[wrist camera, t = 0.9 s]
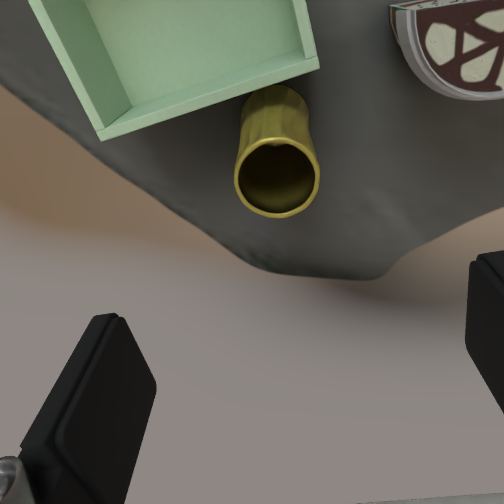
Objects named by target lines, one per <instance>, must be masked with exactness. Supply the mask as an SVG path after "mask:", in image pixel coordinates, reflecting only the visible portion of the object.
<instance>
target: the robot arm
mask: <svg viewBox="0 0 504 504" xmlns="http://www.w3.org/2000/svg"><path fill="white" fill-rule="evenodd" d="M465 344H466V348H467V351H468V353H469V355H470V357H471V358H472V360H473V362H474V363H475V365H476V367H477V369H478V370H479V372H480V374H481V375H482V377H483V379H484V381H485V382H486V384H487V386H488V387H489V389H490V391H491V393H492V394H493V396H494V398H495V399H496V401H497V403H498V404H499V406H500V408H501V410H502V411H503V413H504V251H503V250H502V251H496V252H490V253H484V254H479V255H478V256H477V259H476V261H472V262H471V263H470V266H469V282H468V299H467V314H466V330H465ZM155 395H156V381H155V379H154V377H153V375H152V373H151V371H150V369H149V367H148V365H147V363H146V361H145V359H144V357H143V355H142V353H141V351H140V349H139V347H138V345H137V343H136V341H135V339H134V337H133V334H132V332H131V331H130V328H129V326H128V325H127V322H126V320H125V319H124V318H123V317H119V316H118V315H117V314H116V313H109V314H103V315H96V316H94V317H93V318H92V319H91V321H90V323H89V325H88V327H87V328H86V330H85V332H84V334H83V335H82V337H81V339H80V341H79V342H78V344H77V346H76V348H75V349H74V351H73V353H72V355H71V357H70V358H69V360H68V362H67V363H66V365H65V367H64V369H63V371H62V372H61V374H60V376H59V378H58V379H57V381H56V383H55V385H54V386H53V388H52V390H51V392H50V394H49V395H48V397H47V399H46V401H45V402H44V404H43V406H42V408H41V409H40V411H39V413H38V415H37V416H36V418H35V420H34V422H33V424H32V425H31V427H30V429H29V430H28V432H27V434H26V436H25V438H24V440H23V441H22V443H21V445H20V447H21V448H22V451H21V452H20V454H19V456H18V458H17V457H15V456H5V457H2V458H0V504H124V502H125V499H126V495H127V492H128V488H129V485H130V481H131V478H132V474H133V471H134V467H135V464H136V461H137V457H138V454H139V450H140V447H141V443H142V440H143V437H144V433H145V430H146V426H147V423H148V419H149V416H150V412H151V409H152V406H153V402H154V399H155ZM358 504H504V493H494V494H479V495H464V496H451V497H438V498H424V499H411V500H398V501H385V502H371V503H358Z"/></svg>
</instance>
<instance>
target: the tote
mask: <svg viewBox="0 0 504 504" xmlns="http://www.w3.org/2000/svg"><path fill="white" fill-rule="evenodd" d="M28 2H29V4H30V6H31V7H32V9H33V11H34V13H35V15H36V17H37V19H38V21H39V23H40V25H41V27H42V29H43V31H44V33H45V34H46V36H47V38H48V40H49V42H50V44H51V46H52V48H53V50H54V52H55V54H56V56H57V58H58V60H59V61H60V63H61V65H62V67H63V69H64V71H65V73H66V75H67V77H68V79H69V81H70V83H71V85H72V87H73V88H74V90H75V92H76V94H77V96H78V98H79V100H80V102H81V104H82V106H83V108H84V110H85V112H86V114H87V116H88V117H89V119H90V121H91V123H92V125H93V127H94V129H95V131H96V133H97V135H98V137H99V139H100V141H101V142H102V141H105V140H108V139H111V138H114V137H117V136H120V135H123V134H126V133H129V132H132V131H135V130H138V129H141V128H144V127H147V126H150V125H153V124H156V123H159V122H162V121H165V120H168V119H171V118H174V117H177V116H180V115H183V114H186V113H189V112H192V111H195V110H198V109H201V108H204V107H207V106H210V105H213V104H216V103H219V102H222V101H225V100H228V99H230V98H233V97H236V96H239V95H242V94H245V93H248V92H251V91H254V90H257V89H260V88H263V87H266V86H269V85H272V84H275V83H278V82H281V81H284V80H287V79H290V78H293V77H296V76H299V75H302V74H305V73H308V72H311V71H314V70H317V69H320V65H319V61H318V57H317V51H316V47H315V42H314V37H313V33H312V28H311V23H310V19H309V14H308V9H307V5H306V0H28Z"/></svg>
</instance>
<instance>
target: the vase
mask: <svg viewBox="0 0 504 504" xmlns="http://www.w3.org/2000/svg"><path fill="white" fill-rule="evenodd" d="M240 119H241V130H240V144H239V151H238V155H237V160H236V163H235V169H234V185H235V189H236V191H237V194H238V196H239V198H240V199H241V201H242V202H243V204H244V205H245V206H247V207H248V208H249V209H250V210H252V211H253V212H256V213H258V214H260V215H263V216H266V217H270V218H285V217H289V216H292V215H294V214H296V213H298V212H300V211H302V210H304V209H305V208H306V207H307V206H308V205H309V204H310V203H311V202H312V200H313V199H314V197H315V196H316V194H317V191H318V188H319V181H320V166H319V163H318V160H317V157H316V154H315V150H314V146H313V143H312V140H311V137H310V134H309V130H308V125H309V112H308V108H307V106H306V103H305V101H304V100H303V98H302V97H301V96H300V95H299V94H298V93H297V92H296V91H294V90H292V89H291V88H289V87H286V86H283V85H269V86H266V87H263V88H260V89H258V90H256V91H255V92H254V93H253V94H251V95H250V97H249V98H248V99H247V100H246V102H245V104H244V106H243V109H242V112H241V118H240Z"/></svg>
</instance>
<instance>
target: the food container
mask: <svg viewBox="0 0 504 504" xmlns="http://www.w3.org/2000/svg"><path fill="white" fill-rule="evenodd" d="M388 7H389V22H390V25H391V28H392V31H393V34H394V37H395V40H396V42H397V43H398V44H399V46H400V47H401V49H402V52H403V55H404V57H405V59H406V61H407V63H408V64H409V66H410V68H411V69H412V71H413V72H414V73H415V75H416V76H417V77H418V78H419V79H420V80H421V81H422V82H423V83H424V84H426V85H427V86H428V87H430V88H431V89H432V90H434V91H436V92H438V93H440V94H442V95H444V96H448V97H451V98H455V99H460V100H470V101H477V100H495V99H501V98H504V0H417V1H411V2H405V3H400V4H394V5H388Z"/></svg>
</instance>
